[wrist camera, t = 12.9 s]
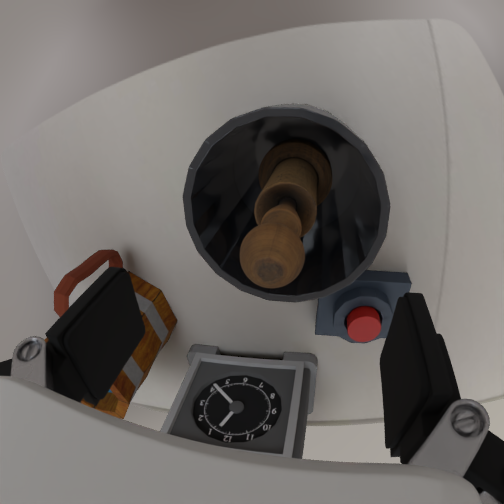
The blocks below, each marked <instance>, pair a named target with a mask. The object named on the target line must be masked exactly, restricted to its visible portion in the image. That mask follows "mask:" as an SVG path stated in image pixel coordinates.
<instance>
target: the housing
mask: <svg viewBox="0 0 504 504" xmlns="http://www.w3.org/2000/svg"><path fill="white" fill-rule="evenodd" d="M411 284H412V283H411V281H410V278H409V276H408V273H402V272H385V271H369V270H365V271H364V272H363V273H362V274H361V275H360V276H359V277H358V278H357V279H356V280H355V281H354V282H353V283H352V284H350V285H348V286H346V287H344V288H342V289H340V290H338V291H336V292H335V293H333V294H331V295H328V296H326V297H323V298H318V307H317V316H316V325H315V335H329V336H339V337H341V338H343V339H345V340H347V341H349V342H351V343H368V342H371V341H373V340H376V339H379V338H387V334H388V331H389V328H390V325H391V321H392V318H393V314H394V311H395V307H396V304H397V300H398V298H399V297H403V296H404V294H405V293H409V291H410V288H411ZM361 306H369V307H372V308H374V309H375V310H376V311H377V312H378V314H379V318H380V323H381V331H380V333H379V335H378V336H377V337H376V338H374V339H373V340H370V341H367V342H358V341H355V340H353V339H351V338H350V337H349V335H348V332H347V317H348V315H349V313H350V312H351V311H352V310H354V309H355V308H358V307H361Z"/></svg>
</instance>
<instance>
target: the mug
mask: <svg viewBox="0 0 504 504" xmlns="http://www.w3.org/2000/svg"><path fill="white" fill-rule="evenodd" d="M107 260H109V267H119V268H123V262H122V259H121V257H120V255H119V253H118V252H117V251H115V250H99V251H97V252H96V253H94V254H93V255H92V256H90V257H89V258H88V259H87V260H85V261H84V262H83V263H82V264H81V265H79V266H78V267H76V268H75V269H73V270H72V271H70V272H69V273H67V274H66V275H65V276H64V277H63V279H62V280H61V282H60V283H59V285H58V286H57V288H56V289H55V291H54V310H55V312H56V313H57V314H58V315H59V317H61V316H62V315H63V314H64V313H65V312H66V311H67V310H68V308H69V296H70V294H71V293H72V291H73V289H74V288H75V287H76V285H77V284H78V283H79V282H81V281H82V280H84V279H85V278H87V277H88V276H90V275H91V274H92V273H94V272H95V271H96V270H97V269H98V268H99V267H100V266H101V265H102V264H104V263H105V262H106V261H107ZM127 273H129V274H130V277H131V281H132V284H133V288H134V291H135V295H136V298H137V302H138V305H139V309H140V312H141V315H142V319H143V322H144V325H145V335H144V337H143V338H142V340H141V341H140V343H139V344H138V346H137V347H136V349H135V351H134V352H133V354H132V355H131V357H130V358H129V360H128V361H127V363H126V364H125V366H124V368H123V369H122V371H121V372H120V374H119V375H118V377H117V379H116V380H115V382H114V383H113V385H112V386H111V388H110V390H109V391H108V393H107V394H106V396H105V397H104V398H103V399H100V401H99V403H98V404H97V406H96V405H93V404H91V403H88V402H86V401H85V400H84V398H83V399H82V401H81V403H82V404H84V405H86V406H89V407H91V408H94V409H96V410H99V411H101V412H104V413H106V414H109V415H112V416H114V417H117V418H120V419H124V417H125V414H126V412H127V409H128V407H129V404H130V402H131V400H132V398H133V397H134V395H135V393H136V391H137V390H138V388H139V387H140V386H141V384H142V383H143V382H144V380H145V379H146V377H147V375H148V373H149V371H150V369H151V366H152V364H153V362H154V360H155V358H156V357H157V355H158V353H159V352H160V350H161V349H162V348H163V346H164V345H165V344H166V343H167V341H168V339H169V337H170V335H171V333H172V331H173V329H174V327H175V325H176V323H177V319H176V318H175V316H174V314H173V312H172V310H171V308H170V306H169V304H168V302H167V300H166V298H165V296H164V295H163V293H162V291H161V290H160V289H158V288H156V287H155V286H153V285H151V284H149V283H148V282H146V281H144V280H143V279H141V278H139V277H138V276H136V275H134V274H133V273H131V272H130V271H128V272H127ZM44 341H45V342H47V341H48V338H46V339H45V340H44Z"/></svg>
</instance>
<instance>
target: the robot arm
mask: <svg viewBox="0 0 504 504" xmlns="http://www.w3.org/2000/svg"><path fill="white" fill-rule="evenodd" d="M144 335H145V325H144V322H143V319H142V315H141V312H140V309H139V305H138V302H137V298H136V295H135V291H134V288H133V284H132V281H131V277H130V274H129V273H127V271H126V270H125V269H124V268H119V267H109V268H108V269H107V270H106V271H105V272H104V273H103V274H102V275H101V276H100V277H99V278H98V279H97V280H96V281H95V282H94V283H93V284H92V285H91V286H90V287H89V288H88V289H87V290H86V291H85V292H84V293H83V294H82V295H81V296H80V297H79V298H78V299H77V300H76V301H75V302H74V303H73V304H72V305H71V306H70V307H69V308H68V310H67V311H66V312H65V313H64V314H63V315H62V316H61V317H60V318H59V319H58V320H57V321H56V322H55V324H54V325H53V326H52V327H51V328H50V329H49V330H48V331H47V332H46V336H47V338H48V341H47V342H45V341H44V339H43V338H41V337H37V336H33V337H29V338H26V339H24V340H23V341H21V342H20V343H19V344H18V345H17V346H16V348H15V350H14V353H13V358H12V359H9V360H7V361H3V362H0V504H504V441H503V440H501V439H500V438H499V437H497V436H496V435H494V434H493V433H491V432H490V431H489V430H488V429H489V426H490V421H489V416H488V413H487V411H486V410H485V408H484V407H483V406H482V405H481V404H479V403H478V402H476V401H474V400H472V399H461V397H460V394H459V390H458V386H457V382H456V379H455V375H454V371H453V368H452V365H451V361H450V358H449V355H448V351H447V348H446V345H445V342H444V339H443V337H442V335H441V334H436V331H435V328H434V325H433V322H432V319H431V316H430V313H429V310H428V307H427V305H426V302H425V299H424V296H423V294H421V293H405V294H404V296H403V297H399V298H398V300H397V304H396V307H395V311H394V314H393V318H392V321H391V325H390V328H389V331H388V334H387V338H386V341H385V344H384V347H383V350H382V353H381V357H380V371H381V382H382V394H383V408H384V423H385V425H384V426H385V446H386V448H390V450H391V457H400V462H401V463H402V464H387V463H353V462H333V461H332V462H331V461H319V460H306V459H297V458H287V457H279V456H271V455H264V454H258V453H251V452H246V451H240V450H235V449H229V448H224V447H219V446H215V445H210V444H206V443H201V442H197V441H193V440H189V439H185V438H181V437H178V436H174V435H170V434H167V433H163V432H160V431H156V430H153V429H150V428H147V427H144V426H141V425H137V424H134V423H132V422H129V421H126V420H123V419H120V418H117V417H114V416H112V415H109V414H106V413H104V412H101V411H99V410H96V409H94V408H91V407H89V406H86V405H84V404H82V403H81V401H82V399H83V398H84V400H85V401H86V402H88V403H91V404H93V405H96V406H97V404H98V403H99V401H100V399H103V398H104V397H105V396H106V394H107V393H108V391H109V390H110V388H111V386H112V385H113V383H114V382H115V380H116V379H117V377H118V375H119V374H120V372H121V371H122V369H123V368H124V366H125V364H126V363H127V361H128V360H129V358H130V357H131V355H132V354H133V352H134V351H135V349H136V347H137V346H138V344H139V343H140V341H141V340H142V338H143V337H144Z"/></svg>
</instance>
